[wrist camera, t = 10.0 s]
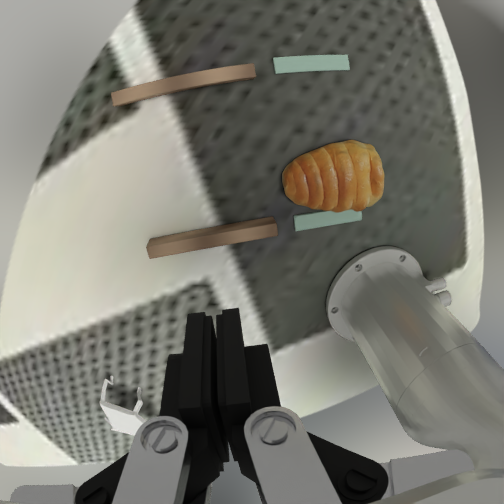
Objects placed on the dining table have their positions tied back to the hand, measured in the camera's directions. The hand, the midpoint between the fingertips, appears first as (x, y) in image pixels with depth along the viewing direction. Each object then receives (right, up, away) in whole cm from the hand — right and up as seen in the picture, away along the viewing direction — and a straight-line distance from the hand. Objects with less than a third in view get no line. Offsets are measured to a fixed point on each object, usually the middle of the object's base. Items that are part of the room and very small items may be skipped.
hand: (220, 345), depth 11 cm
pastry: (+9, +10, +20) cm, 24 cm away
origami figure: (-15, -18, +29) cm, 38 cm away
